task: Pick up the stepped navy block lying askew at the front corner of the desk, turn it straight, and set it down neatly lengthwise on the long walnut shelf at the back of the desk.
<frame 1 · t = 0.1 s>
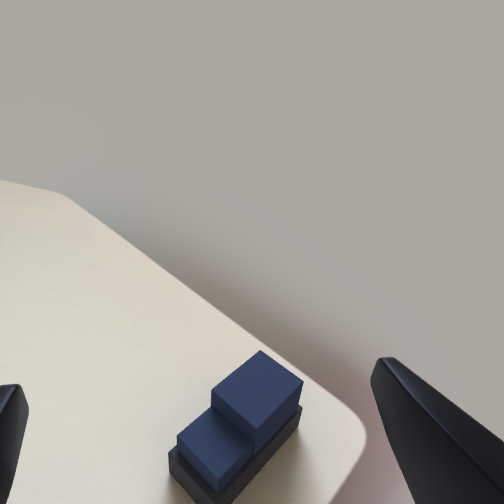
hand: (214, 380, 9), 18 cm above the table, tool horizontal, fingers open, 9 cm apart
stepped navy block: (237, 447, 27), on the table
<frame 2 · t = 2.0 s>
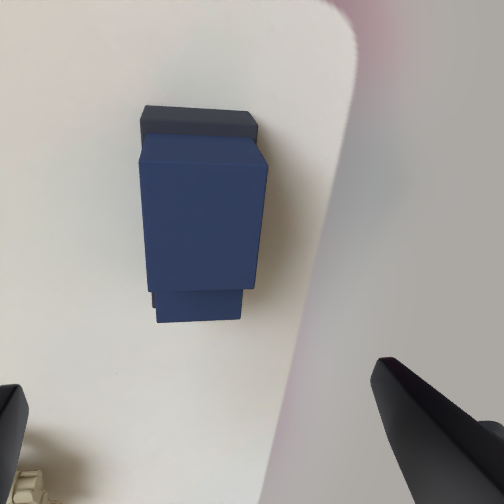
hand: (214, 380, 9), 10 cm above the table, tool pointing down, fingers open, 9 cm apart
toy: (21, 471, 28), on the table
stepped navy block: (196, 204, 18), on the table
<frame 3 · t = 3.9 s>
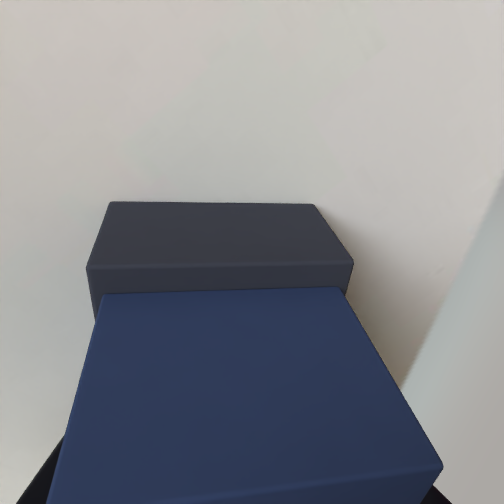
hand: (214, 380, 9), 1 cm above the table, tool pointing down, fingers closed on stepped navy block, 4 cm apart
stepped navy block: (210, 349, 10), on the table, touching gripper
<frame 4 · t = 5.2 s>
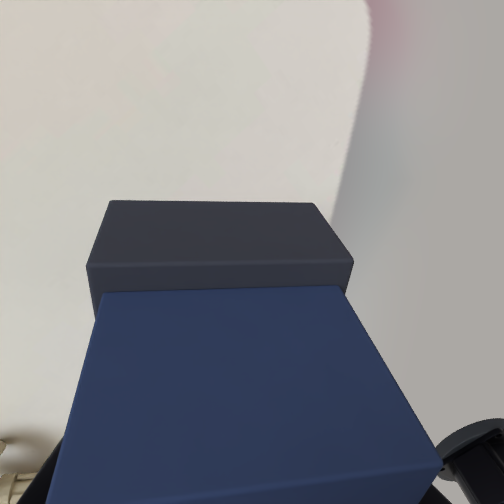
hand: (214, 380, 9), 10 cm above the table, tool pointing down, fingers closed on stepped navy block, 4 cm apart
toy: (19, 474, 27), on the table
stepped navy block: (210, 348, 10), point 9 cm above the table, touching gripper
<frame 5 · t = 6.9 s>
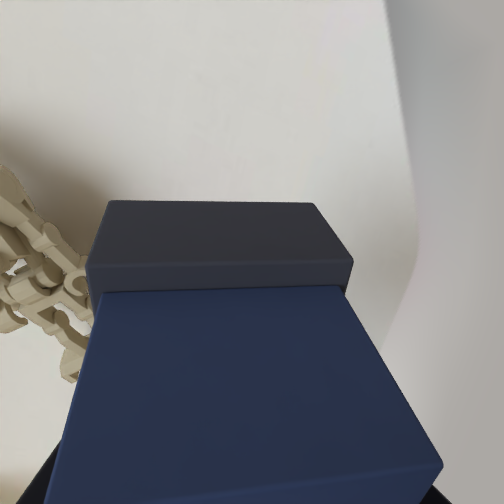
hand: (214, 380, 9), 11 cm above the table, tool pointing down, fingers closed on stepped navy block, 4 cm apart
toy: (33, 237, 18), on the table
stepped navy block: (210, 349, 10), point 10 cm above the table, touching gripper
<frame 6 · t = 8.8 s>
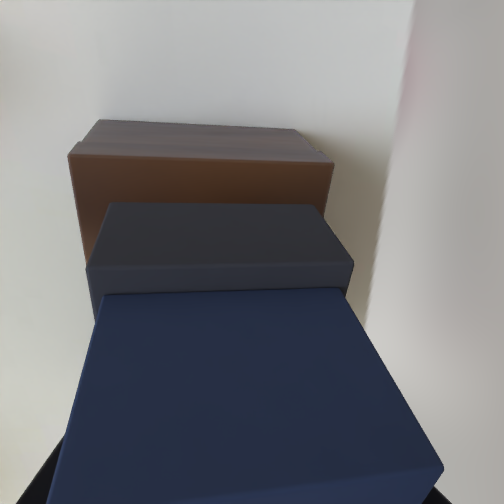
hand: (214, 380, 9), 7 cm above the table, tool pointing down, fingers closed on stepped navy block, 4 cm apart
shelf: (198, 280, 17), on the table
stepped navy block: (210, 350, 10), point 6 cm above the table, touching gripper
when the fingers open (5 cm above the table, at t = 9.9 s): stepped navy block stays where it is, resting on shelf.
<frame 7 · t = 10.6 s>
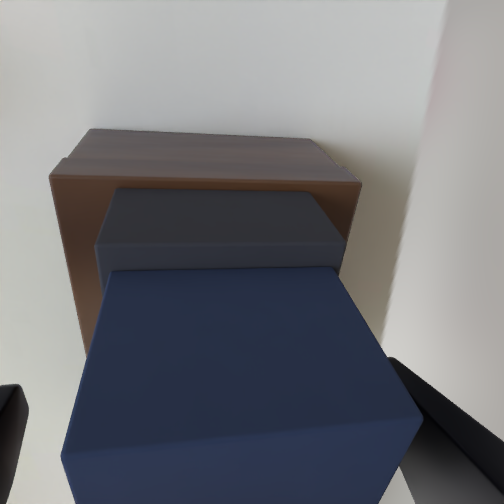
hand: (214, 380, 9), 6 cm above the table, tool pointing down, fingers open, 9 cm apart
shelf: (202, 302, 15), on the table
stepped navy block: (210, 334, 11), point 4 cm above the table, touching shelf
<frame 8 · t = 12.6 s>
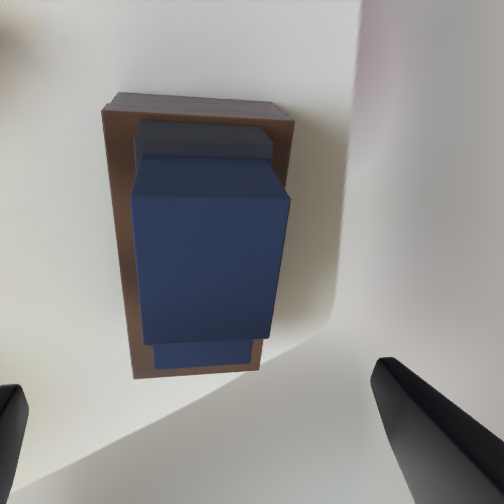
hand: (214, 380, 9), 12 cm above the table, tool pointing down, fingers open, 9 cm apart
shelf: (196, 229, 21), on the table
stepped navy block: (200, 230, 16), point 4 cm above the table, touching shelf
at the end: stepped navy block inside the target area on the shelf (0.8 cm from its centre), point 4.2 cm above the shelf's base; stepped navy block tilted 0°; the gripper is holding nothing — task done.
